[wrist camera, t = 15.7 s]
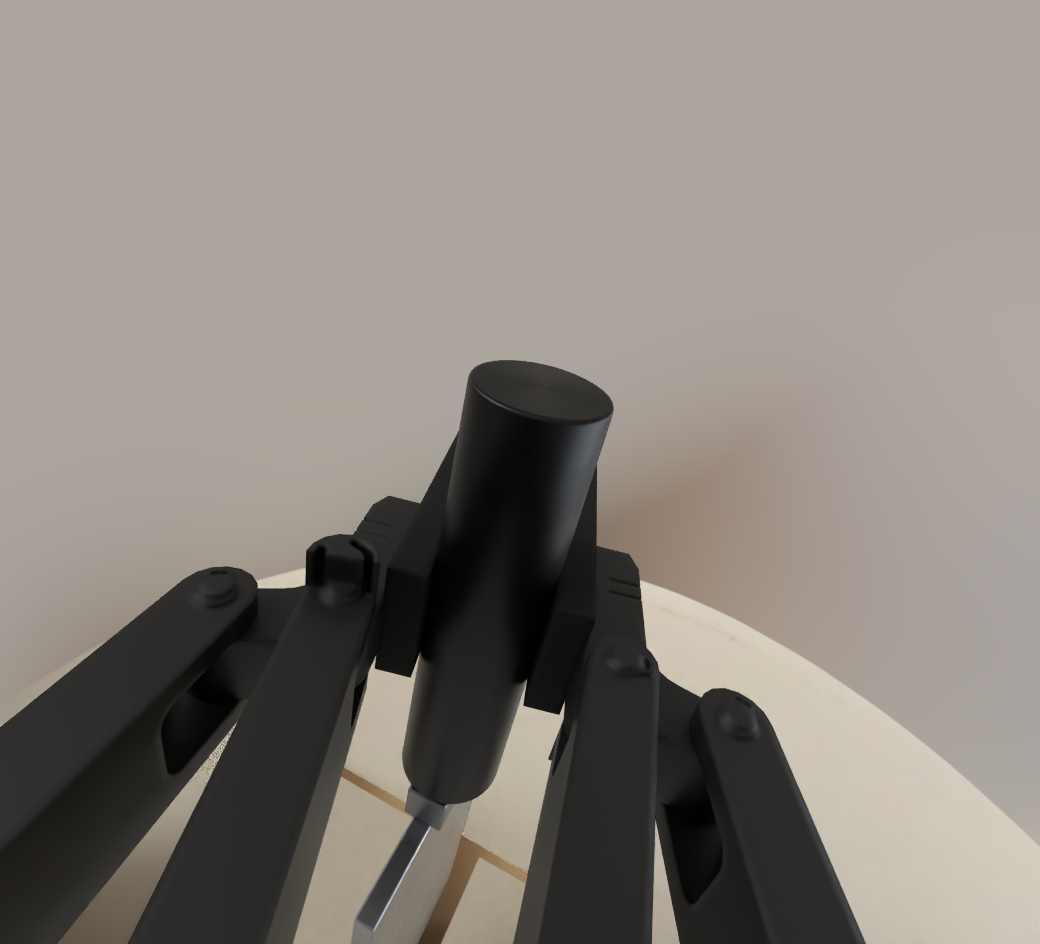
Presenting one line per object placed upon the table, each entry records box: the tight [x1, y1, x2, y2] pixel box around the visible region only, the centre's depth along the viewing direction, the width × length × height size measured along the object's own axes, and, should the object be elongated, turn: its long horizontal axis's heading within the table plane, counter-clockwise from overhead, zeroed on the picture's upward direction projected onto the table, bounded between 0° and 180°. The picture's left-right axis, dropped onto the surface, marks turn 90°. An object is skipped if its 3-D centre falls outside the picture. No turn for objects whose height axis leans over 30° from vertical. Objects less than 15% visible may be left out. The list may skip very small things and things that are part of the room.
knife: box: [351, 360, 614, 944], centre depth 15 cm, size 2×7×23 cm, turn 158°
